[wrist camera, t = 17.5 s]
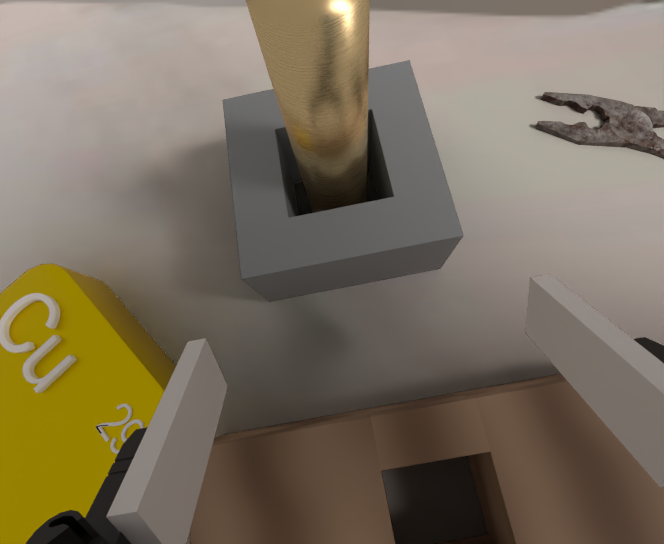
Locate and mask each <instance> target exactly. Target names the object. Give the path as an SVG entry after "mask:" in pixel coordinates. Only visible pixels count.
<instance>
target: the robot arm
mask: <svg viewBox="0 0 664 544" xmlns="http://www.w3.org/2000/svg"><path fill="white" fill-rule="evenodd" d="M525 333H526V334H527V335H528V336H529V337H530V338H531V340H532V341H533V342H534V343H535V344H536V345H537V347H538V348H539V349H540V350H541V351H542V352H543V353H544V355H545V356H546V357H547V358H548V359H549V360H550V361H551V363H552V364H553V365H554V366H555V367H556V368H557V369H558V371H559V372H560V373H561V374H562V375H563V376H564V378H565V379H566V380H567V381H568V382H569V383H570V384H571V386H572V387H573V388H574V389H575V390H576V391H577V392H578V394H579V395H580V396H581V397H582V398H583V399H584V400H585V402H586V403H587V404H588V405H589V406H590V407H591V409H592V410H593V411H594V412H595V413H596V414H597V415H598V417H599V418H600V419H601V420H602V421H603V422H604V423H605V425H606V426H607V427H608V428H609V429H610V430H611V431H612V433H613V434H614V435H615V436H616V437H617V438H618V440H619V441H620V442H621V443H622V444H623V445H624V446H625V448H626V449H627V450H628V451H629V452H630V453H631V454H632V456H633V457H634V458H635V459H636V460H637V461H638V462H639V464H640V465H641V466H642V467H643V468H644V469H645V471H646V472H647V473H648V474H649V475H650V476H651V477H652V479H653V480H654V481H655V482H656V483H657V484H658V485H659V487H663V486H664V346H663V345H661V344H659V343H656V342H654V341H652V340H650V339H647V338H645V337H643V338H637V339H632V338H631V337H630V336H628V335H627V334H626V333H625V332H623V331H622V330H621V329H619V328H618V327H617V326H616V325H614V324H613V323H612V322H611V321H609V320H608V319H607V318H606V317H604V316H603V315H602V314H600V313H599V312H598V311H597V310H595V309H594V308H593V307H592V306H590V305H589V304H588V303H586V302H585V301H584V300H583V299H581V298H580V297H579V296H578V295H576V294H575V293H574V292H573V291H571V290H570V289H569V288H567V287H566V286H565V285H564V284H562V283H561V282H560V281H559V280H557V279H556V278H555V277H553V276H552V275H551V274H546V275H541V276H535V277H530V287H529V298H528V309H527V320H526V331H525ZM227 388H228V386H227V384H226V382H225V379H224V377H223V375H222V373H221V370H220V368H219V366H218V364H217V361H216V359H215V357H214V355H213V352H212V350H211V348H210V346H209V343H208V341H207V339H206V338H204V339H198V340H193V341H188V342H187V344H186V346H185V349H184V351H183V353H182V355H181V357H180V359H179V361H178V364H177V366H176V368H175V370H174V372H173V374H172V376H171V379H170V381H169V383H168V385H167V387H166V389H165V391H164V394H163V396H162V398H161V400H160V402H159V404H158V406H157V409H156V411H155V413H154V415H153V417H152V419H151V421H150V424H149V426H148V427H146V428H141V429H136V430H135V431H134V432H133V433H132V434H131V435H130V437H129V438H128V439H127V440H126V441H125V442H124V443H123V445H122V447H121V449H120V451H119V453H118V455H117V456H116V458H115V463H113V464H112V466H111V468H110V470H109V472H108V476H107V477H106V478H105V480H104V482H103V484H102V486H101V488H100V490H99V492H98V493H97V495H96V497H95V499H94V501H93V503H92V505H91V507H90V509H89V511H88V513H87V515H86V517H85V518H84V517H83V516H82V515H81V514H80V513H79V512H78V511H74V510H68V511H65V512H61V513H59V514H57V515H55V516H54V517H52V518H50V519H48V520H47V521H46V522H45V523H44V524H43V525H41V526H40V527H39V528H38V529H37V530H36V531H35V532H34V533H33V535H32V536H31V537H30V538H29V539H28V541H27V542H26V544H186V542H187V539H188V535H189V531H190V527H191V524H192V520H193V516H194V512H195V508H196V505H197V501H198V497H199V493H200V490H201V486H202V482H203V478H204V475H205V471H206V467H207V463H208V459H209V456H210V452H211V448H212V444H213V441H214V437H215V433H216V429H217V425H218V422H219V418H220V414H221V410H222V407H223V403H224V399H225V395H226V391H227Z"/></svg>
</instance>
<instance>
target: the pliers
mask: <svg viewBox="0 0 664 544" xmlns="http://www.w3.org/2000/svg"><path fill="white" fill-rule="evenodd" d="M541 100H544V101H547V102H550V103H553V104H556V105H559V106H563V105H564V106H565V105H567V106H571V107H572V108H575V109H576V111H578V112H580V113H585V112H586V111H587V110H595V111H596V112H598V113H599V114H600V118H601V120H603V121H606V123H604V124H603V125H602V126H601V127H600V128H599V129H597V130H594V129H591V128H589V127H588V126H587V124H586V123H585V122H579V123H577V124H574V125H568V124H567V125H566V124H564V123H563V122H562V123H561V122H553V121H539V122H538V123H537V125H536V129H539V130H542V131H544V132H547V133H550V134H552V135H555V136H557V137H560V138H563V139H565V140H568V141H571V142H573V143H576V144H579V145H593V146H611V147H628V148H632V149H635V150H639V151H643V152H647V153H651V154H653V155H656V156H659V157H662V158H664V140H663V139H662V138H660V137H658V136H657V135H656V133H655V132H653V131H652V130H653V128H660V127H664V111H658V110H657V109H656V108H650V107H640V106H634V107H633V105H631V104H628V103H624V102H621V101H617V100H612V99H607V98H601V97H596V96H591V95H582V94H567V93H552V92H545V93H544V94H543V96H542V98H541Z"/></svg>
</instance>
